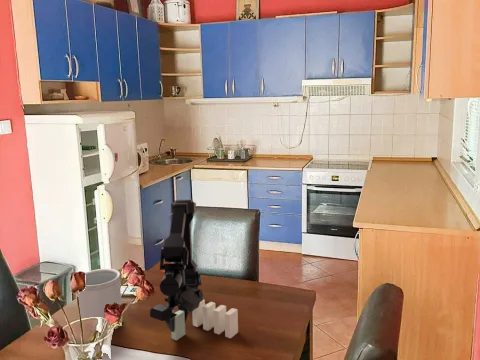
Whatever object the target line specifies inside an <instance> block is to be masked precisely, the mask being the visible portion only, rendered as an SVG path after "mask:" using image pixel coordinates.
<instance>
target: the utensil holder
mask: <svg viewBox="0 0 480 360" xmlns="http://www.w3.org/2000/svg"><path fill="white" fill-rule="evenodd" d="M84 273H85V275H86V288H85V290H84V291H82V292H80V294H79V307H80V314H81V318H89V317H104V308H105V305H106V304H113V303H114V302H115V303H117V304H122V293H121V280H120V279H121V272H119V270H117V269H113V268H98V269H93V270H89V271H85V272H84ZM119 289H120V290H119ZM77 311H78V310H77ZM78 313H79V311H78ZM120 321H121V323H123V315H122V316H121V319H120ZM118 328H119V327H116V328H115V330H116V329H118Z"/></svg>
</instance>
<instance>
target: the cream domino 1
mask: <svg viewBox="0 0 480 360" xmlns="http://www.w3.org/2000/svg"><path fill="white" fill-rule="evenodd" d="M204 305H206V301H205V299H203V301H201V302H200V304H199V307H198V308H196V309H194V310H193V311H192V312H191V313H192V314H191V315H192V327H193V326H194V327H196V328H198V327H200V326H201V325H203V308H202V307H203V306H204Z"/></svg>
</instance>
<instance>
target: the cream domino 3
mask: <svg viewBox="0 0 480 360" xmlns="http://www.w3.org/2000/svg"><path fill="white" fill-rule="evenodd" d="M215 308H216V309H214V310H213V315H214V327H213V333H214V334H217V335H221V334H222V333H223V332H225V313H226V312H227V305H224V304H220V305H219V306H217V307H215Z"/></svg>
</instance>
